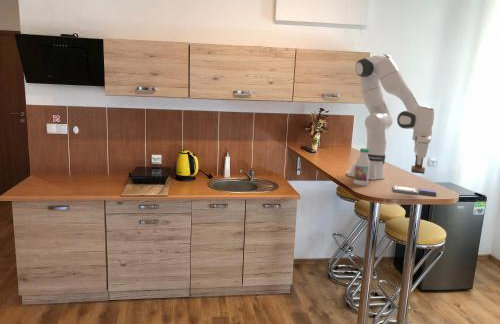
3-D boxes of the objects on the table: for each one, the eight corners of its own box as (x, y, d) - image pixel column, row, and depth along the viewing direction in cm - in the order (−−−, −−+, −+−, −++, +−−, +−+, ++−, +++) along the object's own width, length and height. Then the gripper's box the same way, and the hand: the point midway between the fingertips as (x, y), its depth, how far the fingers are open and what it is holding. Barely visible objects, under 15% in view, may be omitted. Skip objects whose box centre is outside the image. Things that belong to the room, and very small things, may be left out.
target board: (393, 191, 208) (393, 189, 207) (392, 187, 217) (392, 184, 217) (417, 194, 204) (418, 192, 204) (415, 190, 214) (416, 187, 213)
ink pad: (419, 194, 206) (419, 190, 205) (418, 191, 211) (418, 187, 211) (436, 196, 203) (436, 192, 203) (434, 193, 209) (435, 189, 209)
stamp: (411, 172, 206) (414, 151, 204) (411, 170, 210) (413, 149, 208) (424, 173, 204) (427, 152, 202) (423, 172, 209) (426, 150, 206)
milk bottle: (357, 181, 225) (361, 147, 221) (370, 184, 220) (374, 149, 217) (351, 183, 220) (355, 148, 216) (364, 186, 215) (368, 150, 211)
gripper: (413, 134, 214) (409, 159, 217) (417, 138, 195) (413, 166, 198) (425, 135, 213) (422, 160, 215) (431, 140, 193) (427, 167, 196)
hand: (418, 163), depth 206 cm, fingers closed on stamp, 4 cm apart
